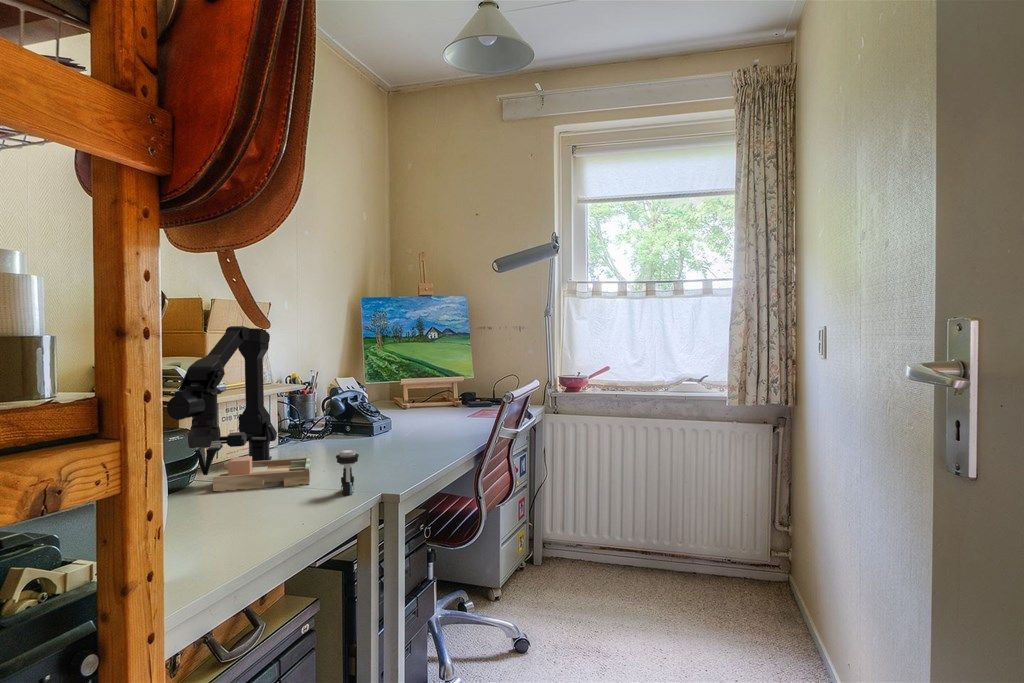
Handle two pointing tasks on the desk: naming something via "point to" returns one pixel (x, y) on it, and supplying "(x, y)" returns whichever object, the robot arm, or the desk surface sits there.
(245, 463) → the block
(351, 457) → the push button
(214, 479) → the board
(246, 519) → the desk surface
